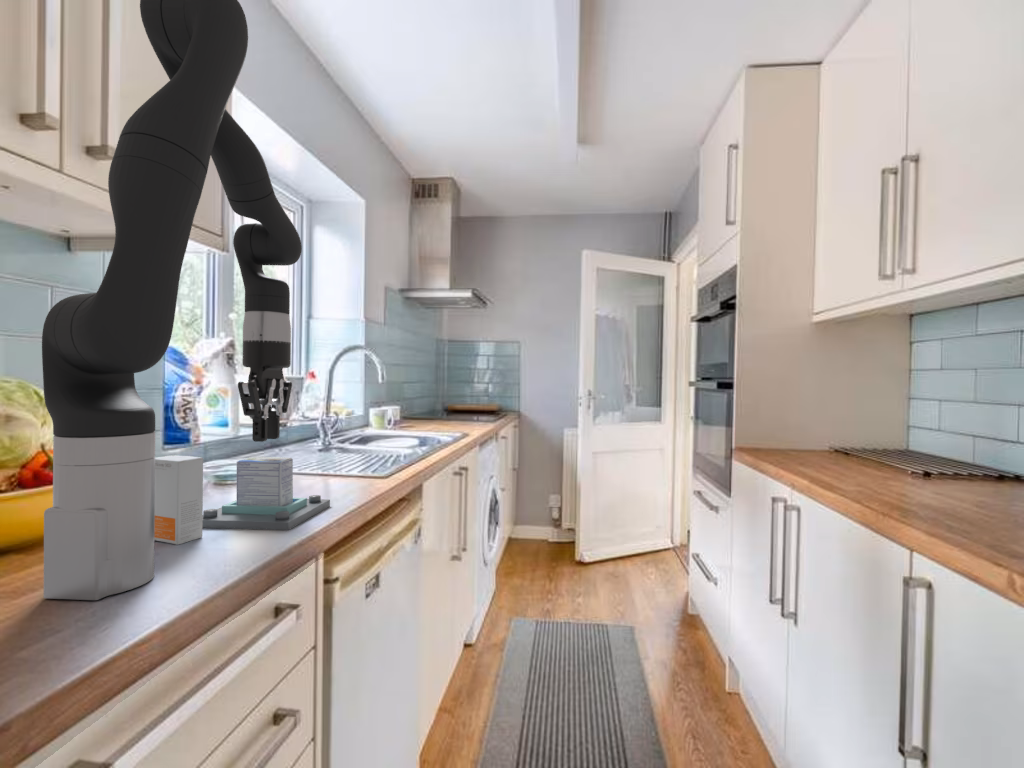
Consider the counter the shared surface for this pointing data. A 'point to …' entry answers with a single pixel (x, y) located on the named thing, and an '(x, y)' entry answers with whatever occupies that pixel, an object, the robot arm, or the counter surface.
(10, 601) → the counter surface
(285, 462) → the medicine box
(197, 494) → the skincare box
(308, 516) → the baseplate
